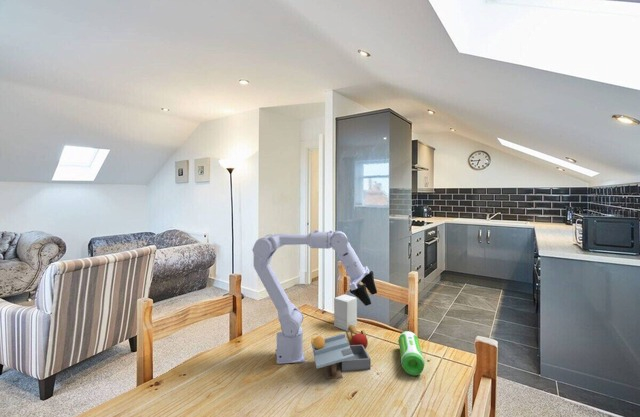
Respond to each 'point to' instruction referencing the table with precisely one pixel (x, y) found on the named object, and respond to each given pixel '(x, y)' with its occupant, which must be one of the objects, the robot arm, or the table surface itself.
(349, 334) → the kendama
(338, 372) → the stand
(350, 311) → the supplement box
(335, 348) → the light blue flat piece
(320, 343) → the ball
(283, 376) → the table surface
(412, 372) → the speaker
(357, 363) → the grey open box
